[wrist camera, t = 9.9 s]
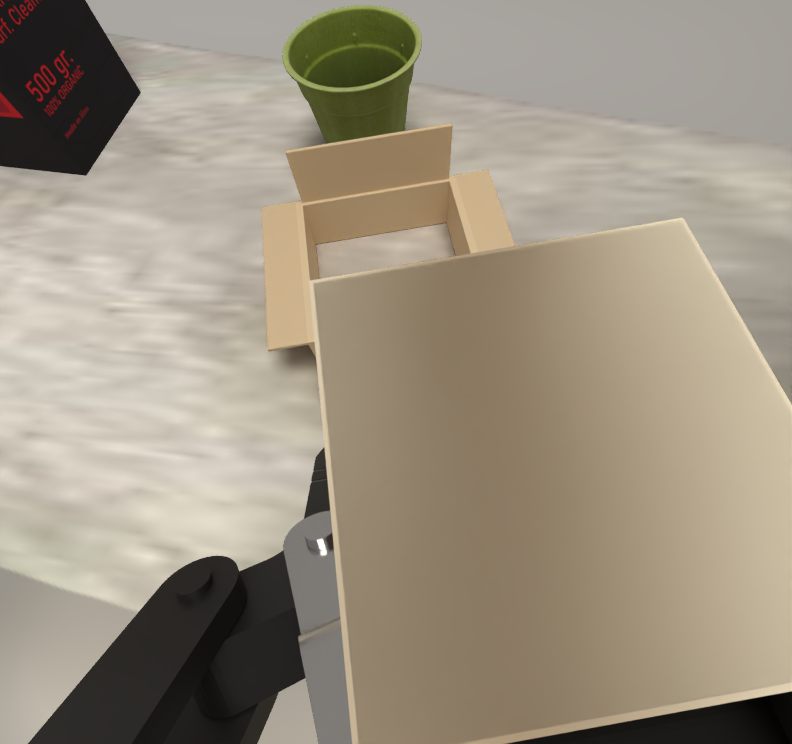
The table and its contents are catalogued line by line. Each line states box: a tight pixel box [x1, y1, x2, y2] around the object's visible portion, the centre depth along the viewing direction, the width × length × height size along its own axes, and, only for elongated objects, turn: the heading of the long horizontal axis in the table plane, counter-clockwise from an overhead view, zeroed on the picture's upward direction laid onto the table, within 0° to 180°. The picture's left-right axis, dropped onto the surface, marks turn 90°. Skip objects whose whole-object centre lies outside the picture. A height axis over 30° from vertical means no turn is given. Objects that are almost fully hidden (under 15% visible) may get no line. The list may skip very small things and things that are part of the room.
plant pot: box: [282, 5, 422, 144], centre depth 41 cm, size 12×12×11 cm
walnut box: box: [309, 218, 792, 744], centre depth 11 cm, size 5×5×14 cm
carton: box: [262, 123, 515, 357], centre depth 34 cm, size 20×17×10 cm
